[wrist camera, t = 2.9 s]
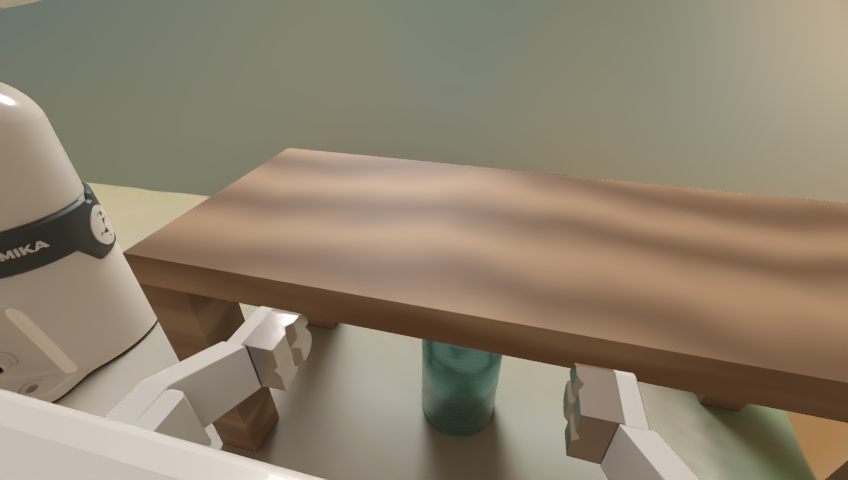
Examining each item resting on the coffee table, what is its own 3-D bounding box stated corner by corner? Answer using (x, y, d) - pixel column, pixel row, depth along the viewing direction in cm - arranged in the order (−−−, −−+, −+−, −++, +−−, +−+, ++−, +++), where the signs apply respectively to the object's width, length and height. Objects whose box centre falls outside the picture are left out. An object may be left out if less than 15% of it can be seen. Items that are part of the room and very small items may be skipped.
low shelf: (838, 619, 21) (1199, 445, 11) (222, 442, 29) (122, 252, 20) (725, 381, 34) (849, 203, 24) (319, 304, 42) (288, 147, 33)
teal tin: (438, 447, 29) (442, 349, 23) (412, 384, 34) (410, 289, 28) (506, 421, 31) (526, 324, 25) (472, 364, 36) (483, 271, 30)
